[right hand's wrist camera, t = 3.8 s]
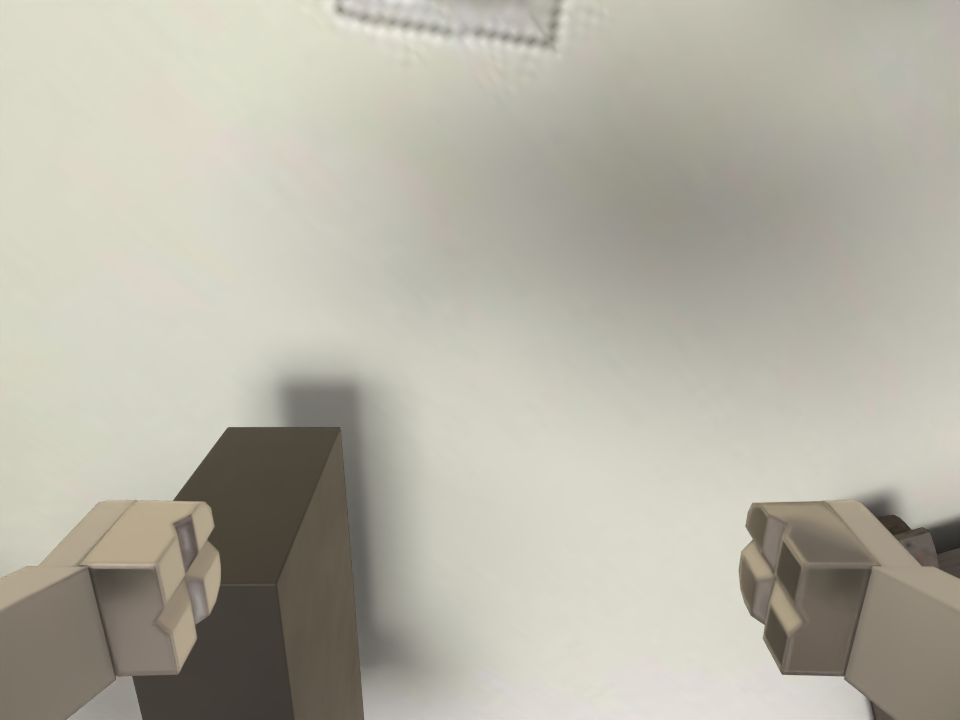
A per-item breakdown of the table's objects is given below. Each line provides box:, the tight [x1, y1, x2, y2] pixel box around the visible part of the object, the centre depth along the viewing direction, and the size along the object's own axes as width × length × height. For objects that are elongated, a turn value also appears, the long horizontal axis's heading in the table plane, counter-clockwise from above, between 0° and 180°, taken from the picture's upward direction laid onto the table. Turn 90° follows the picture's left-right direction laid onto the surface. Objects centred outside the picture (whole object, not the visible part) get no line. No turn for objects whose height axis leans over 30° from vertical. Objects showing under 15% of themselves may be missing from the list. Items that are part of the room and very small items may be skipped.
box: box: [132, 427, 364, 720], centre depth 35 cm, size 24×6×12 cm, turn 0°
